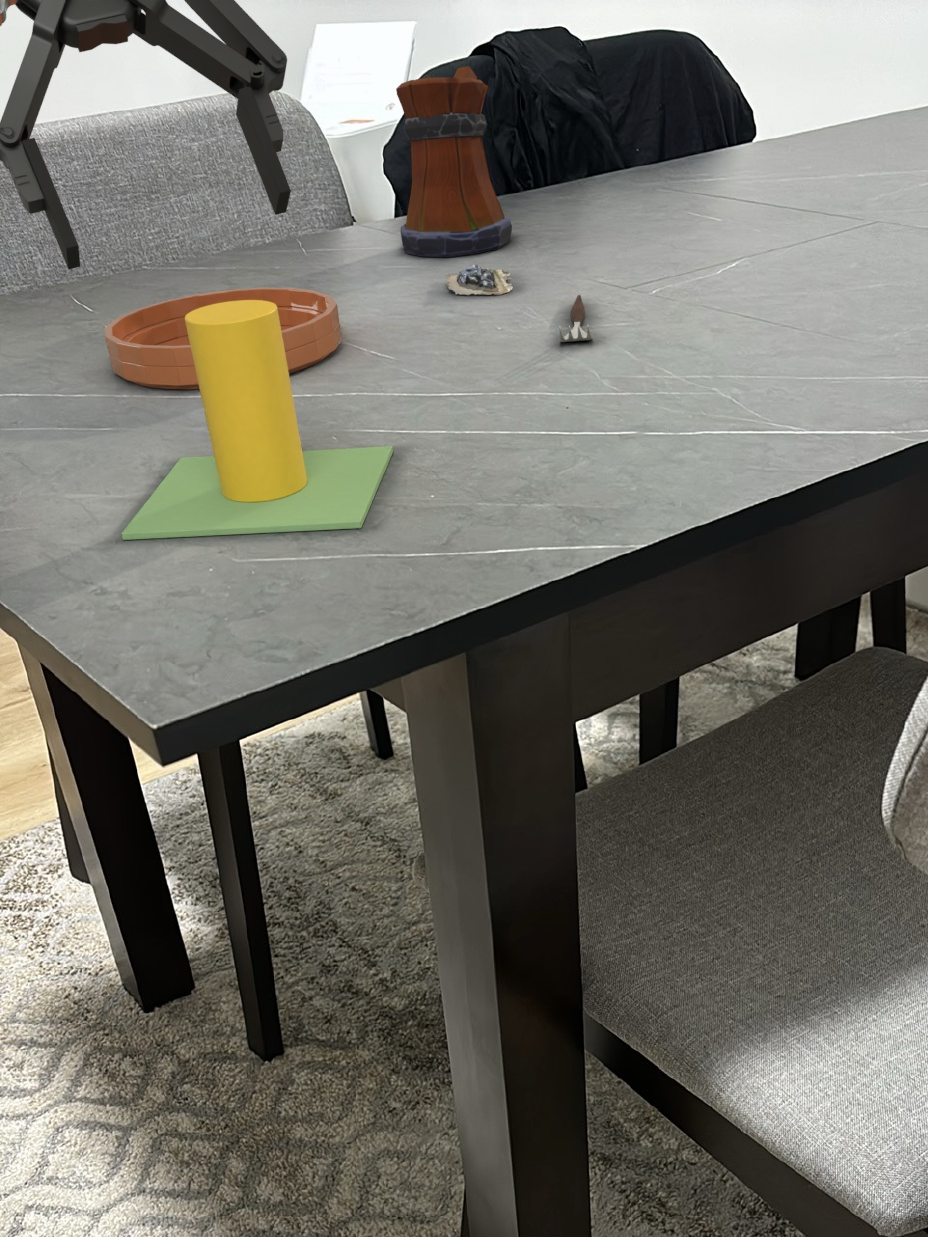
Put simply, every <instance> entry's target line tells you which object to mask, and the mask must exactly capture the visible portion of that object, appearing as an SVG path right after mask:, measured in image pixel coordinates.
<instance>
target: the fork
mask: <svg viewBox="0 0 928 1237" xmlns="http://www.w3.org/2000/svg"><path fill="white" fill-rule="evenodd" d="M585 315H586V309H585V305H584V302H583V300H582V294H578V295H577V296H576V298H575V300H574V302H573V305H572V307H571V309H570V316H571V320H572V323H573V327H572V328H571V326H570V325H568V332H567V333H566V334H565V335H564V334H563V331H562V328H561V326H558V332H559V333H558V336H559V337H558V338H559V340H558V341H559V343H570V342H571V343H572V342H583V341H584V342H585V341H593V340H594V337H593V336H592V332H591V329H590V324H589V323H588V324H587V328H586V329H587V330H586V331H584V330H583V328H582V327H581V324H582V322H583V320H584V318H585V317H586V316H585Z"/></svg>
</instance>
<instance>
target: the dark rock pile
mask: <svg viewBox="0 0 928 1237" xmlns="http://www.w3.org/2000/svg"><path fill="white" fill-rule="evenodd" d="M510 275H511V273H510V272H509V271H505V270H504V269H491V268H488V267H486V268H482V267H481V266H480V265H478V264H477V263H476V264H470V265H469V266H466V267H464V268H463V269H462V270H461V271H459V272H458V273H457V272H455V273H452V274H451V273H448V274H446V275H445V281H446V282H448V283H446V285H447V288H448V289H449V290H451V291H452V292H454V295H467V296H470V295H486V296H489V295H490V296H492V295H493V296H499V295H503V294H506V293H509V292H511V291H512V290H513V289H514V287H513V286H512V283H511V282H509V283H508V282H507V281H508V280H510V279H512V277H509V276H510Z"/></svg>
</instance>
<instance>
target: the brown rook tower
mask: <svg viewBox="0 0 928 1237" xmlns="http://www.w3.org/2000/svg"><path fill="white" fill-rule="evenodd" d="M488 89H489V85H487V84H486V83H484V82H483V81H482V80H481V79H478V76H477V75H476V74H475V72H474V71H473V70H472V68H471V66H462V67H458V68H457V69H456V71H455V73H454V75H453V77H445V76H444V77H443V76H440V77H439V76H437V77H436V76H435V77H423V78H422V77H421V78H417V79H410V80H407V81H405V82H402V83H400V84H399V85H398V86H397V87H396V89H395V92H396V96H397V98H398V101H399V103H400V105H401V109H402V111H403V114H404V117H405V120H404V125H403V131H404V133H405V135H406V137H407V139H408V141H410V152H411V154H410V155H411V189H410V196H409V202H408V208H407V213H406V221H405V223H404V224H403V225H401V226H400V231H399V232H400V238H401V244H402V247H403V250H404V252H405V253H406V254H407V255H412V256H413V255H414V256H417V257H428V258H453V257H461V256H468V255H476V254H480V253H485V252H491V251H496V250H498V249H500V248H501V247H504V246H505V245H507V244H508V243H509V242H510V240H511V237H512V234H513V225H512V221H511V219H510V217H509V215H508V214H507V213H504V211H503V208H502V206H501V203H500V201H499V199H498V196H497V195H496V192H495V189H494V187H493V184H492V180H491V176H490V172H489V168H488V163H487V157H486V152H485V148H484V142H483V138H482V137H484V136H485V134H486V130H487V127H488V122H487V118H486V116H485V114H483V113H482V111H483V107H484V103H485V98H486V96H487V92H488Z"/></svg>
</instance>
